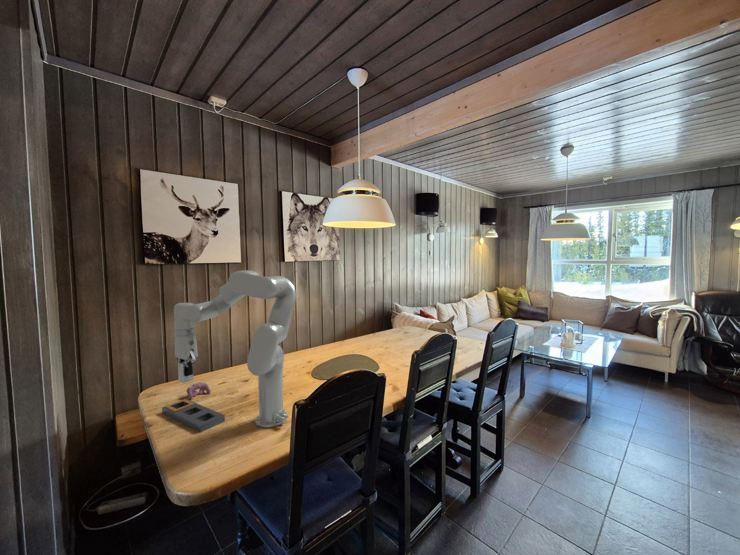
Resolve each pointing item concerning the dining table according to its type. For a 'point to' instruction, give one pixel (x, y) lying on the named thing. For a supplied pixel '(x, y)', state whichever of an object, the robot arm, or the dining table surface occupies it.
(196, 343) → the robot arm
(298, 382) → the dining table surface
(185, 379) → the steel block
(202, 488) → the dining table surface
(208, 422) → the grey flat slotted plate
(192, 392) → the video game controller
